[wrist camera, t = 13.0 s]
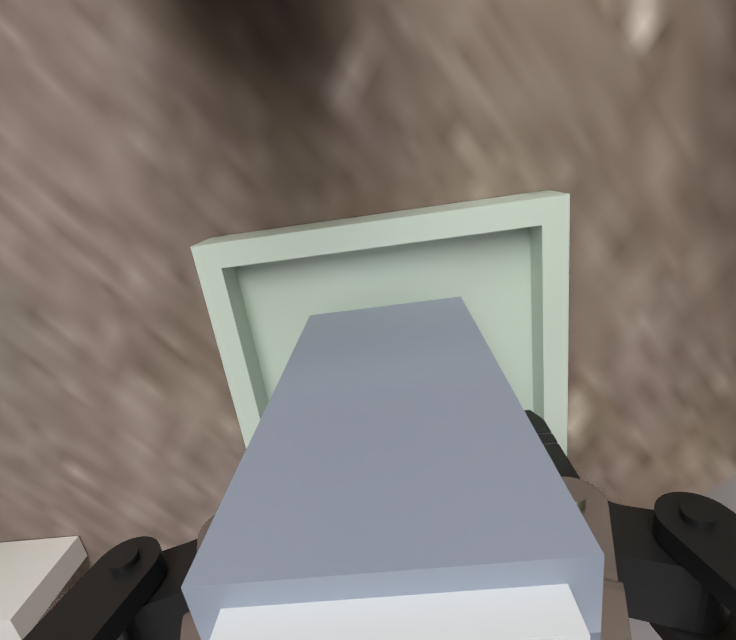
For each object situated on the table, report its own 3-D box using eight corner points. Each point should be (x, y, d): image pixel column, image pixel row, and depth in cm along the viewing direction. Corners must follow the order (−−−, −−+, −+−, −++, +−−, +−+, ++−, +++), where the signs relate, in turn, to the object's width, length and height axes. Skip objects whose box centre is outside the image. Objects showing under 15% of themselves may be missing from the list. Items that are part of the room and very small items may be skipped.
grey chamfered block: (309, 315, 15) (157, 637, 5) (460, 296, 14) (631, 604, 4) (339, 463, 17) (273, 906, 7) (472, 450, 16) (609, 902, 6)
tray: (211, 237, 16) (190, 246, 14) (548, 190, 15) (569, 193, 13) (279, 500, 19) (269, 532, 18) (549, 476, 19) (566, 507, 17)
